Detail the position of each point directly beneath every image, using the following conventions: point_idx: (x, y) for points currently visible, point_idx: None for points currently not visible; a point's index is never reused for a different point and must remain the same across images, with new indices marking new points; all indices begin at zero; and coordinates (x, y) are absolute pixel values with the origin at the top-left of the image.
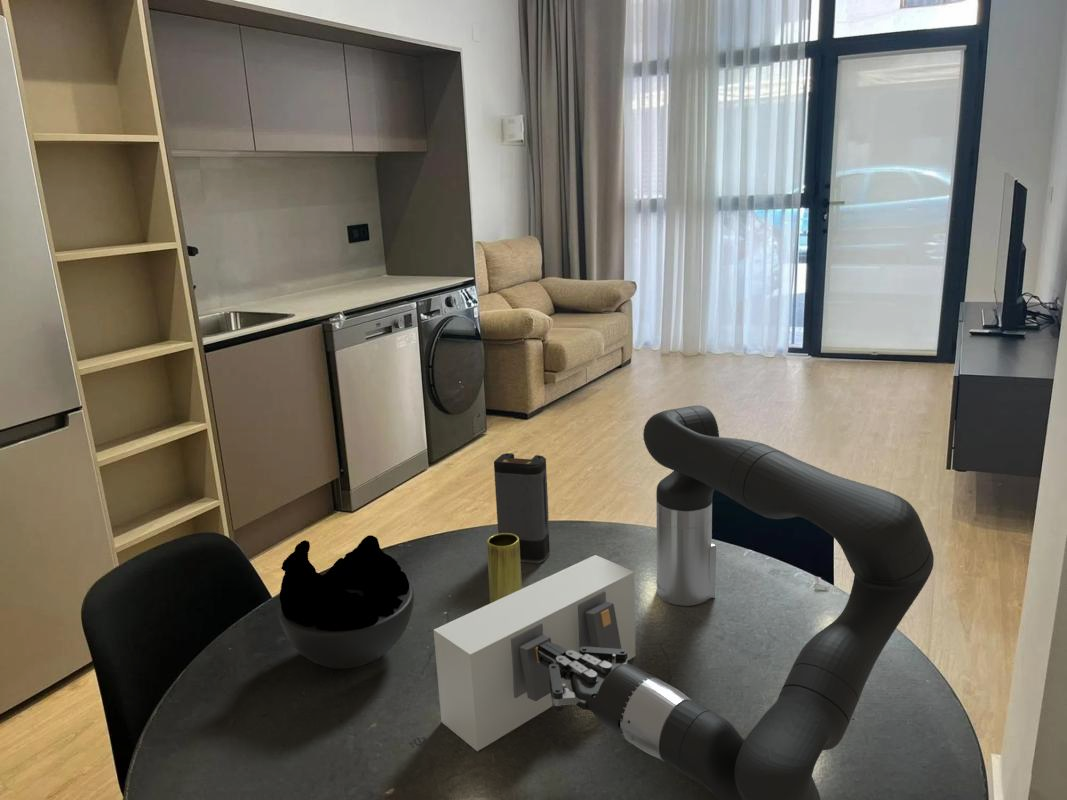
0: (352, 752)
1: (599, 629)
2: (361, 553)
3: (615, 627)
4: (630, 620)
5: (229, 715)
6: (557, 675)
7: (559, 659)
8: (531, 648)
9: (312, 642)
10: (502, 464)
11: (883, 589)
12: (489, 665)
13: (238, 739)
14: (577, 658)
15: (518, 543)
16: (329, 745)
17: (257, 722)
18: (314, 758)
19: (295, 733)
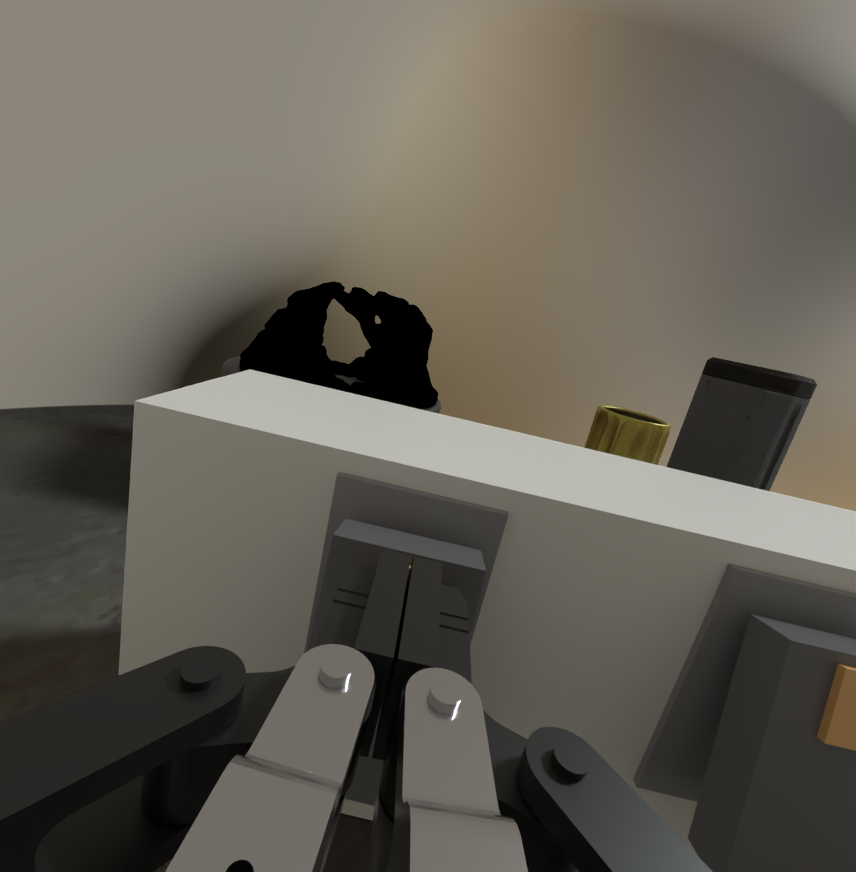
0: (57, 546)
1: (789, 735)
2: (364, 297)
3: None
4: None
5: (128, 434)
6: (27, 775)
7: (316, 672)
8: (359, 544)
9: None
10: (721, 361)
11: None
12: (215, 508)
13: (71, 448)
14: (422, 789)
15: (662, 432)
16: (75, 517)
17: (120, 452)
18: (27, 513)
19: (102, 481)
